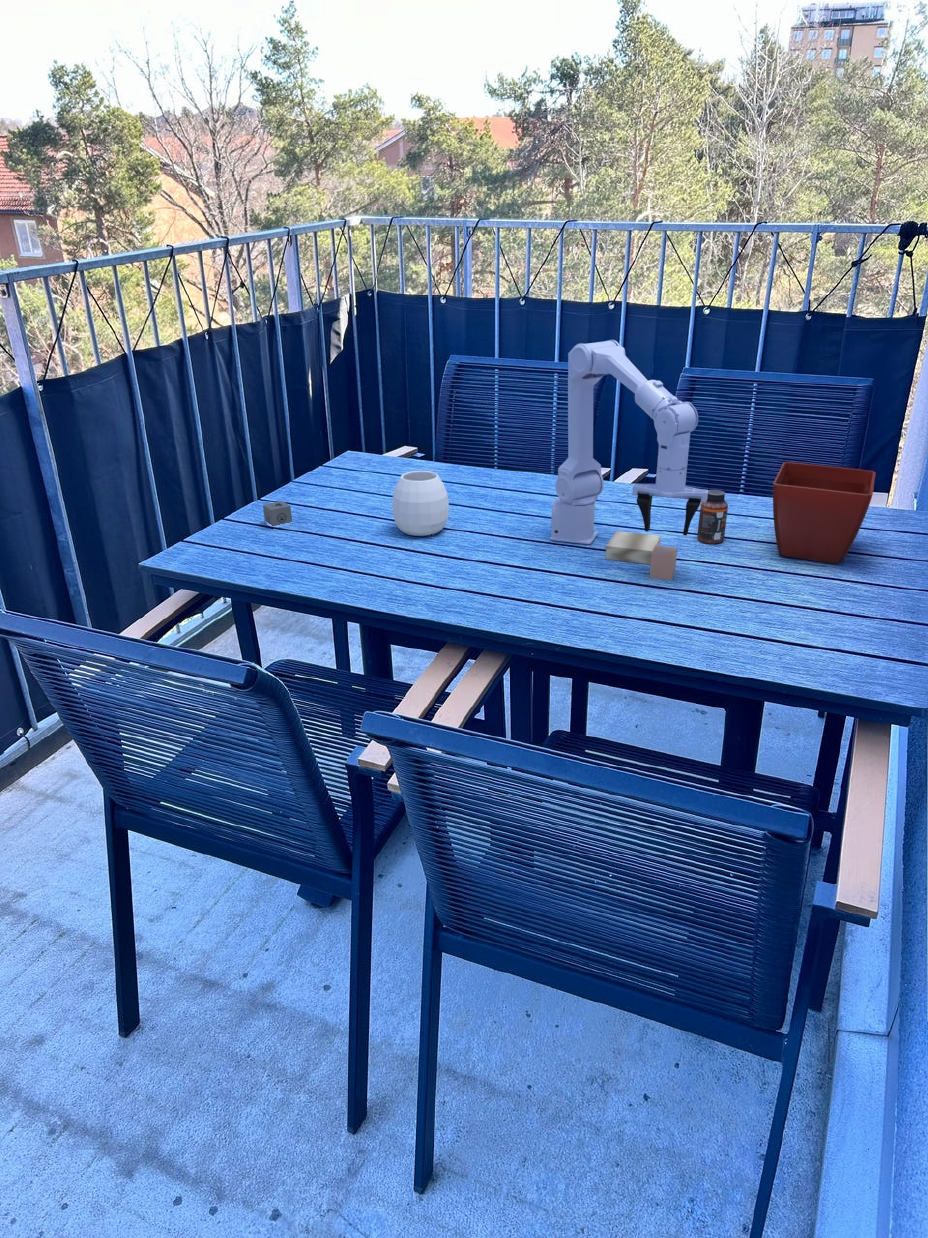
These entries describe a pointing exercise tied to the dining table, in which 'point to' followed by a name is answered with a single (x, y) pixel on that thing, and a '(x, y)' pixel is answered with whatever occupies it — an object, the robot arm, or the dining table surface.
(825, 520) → the plant pot
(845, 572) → the dining table surface
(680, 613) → the dining table surface
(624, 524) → the dining table surface
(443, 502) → the white vase
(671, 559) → the terracotta block
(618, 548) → the birch base
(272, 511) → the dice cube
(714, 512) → the supplement bottle
